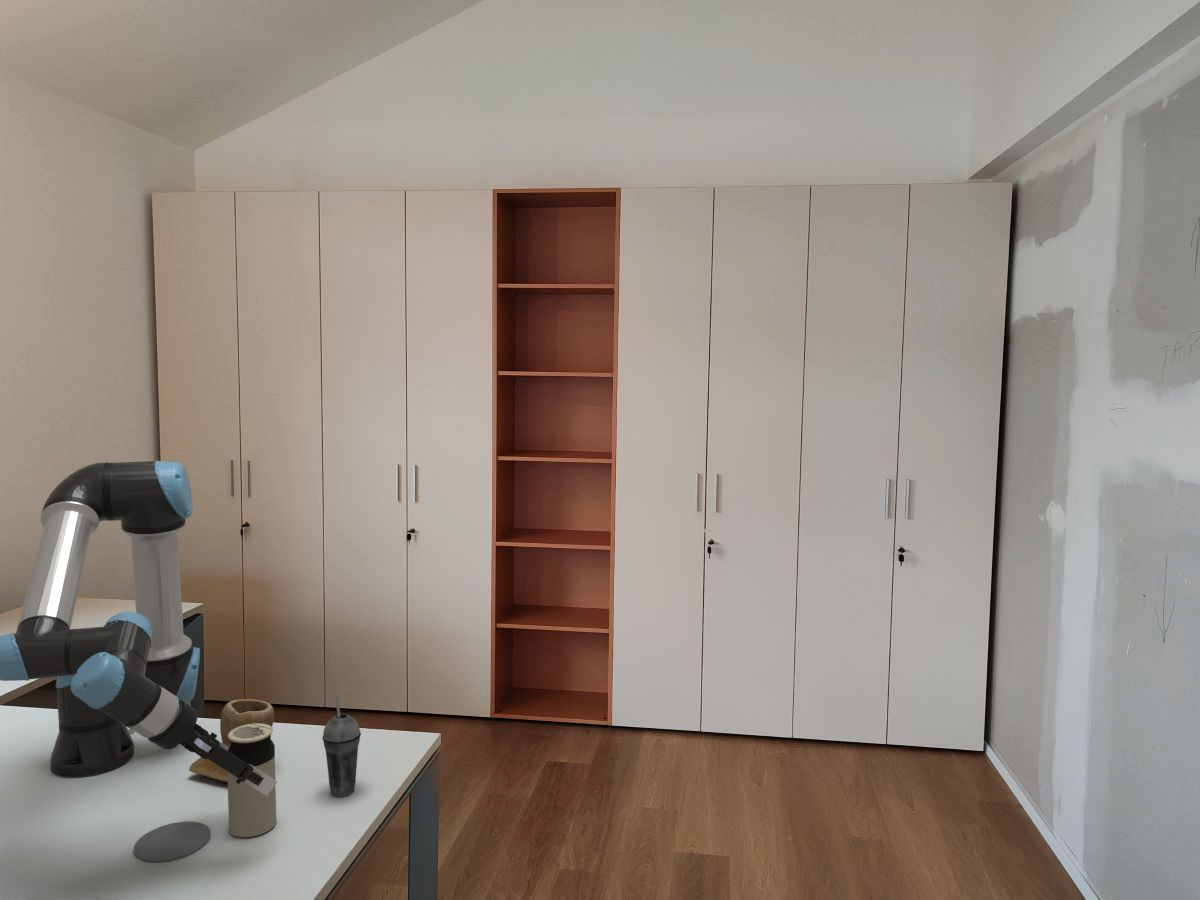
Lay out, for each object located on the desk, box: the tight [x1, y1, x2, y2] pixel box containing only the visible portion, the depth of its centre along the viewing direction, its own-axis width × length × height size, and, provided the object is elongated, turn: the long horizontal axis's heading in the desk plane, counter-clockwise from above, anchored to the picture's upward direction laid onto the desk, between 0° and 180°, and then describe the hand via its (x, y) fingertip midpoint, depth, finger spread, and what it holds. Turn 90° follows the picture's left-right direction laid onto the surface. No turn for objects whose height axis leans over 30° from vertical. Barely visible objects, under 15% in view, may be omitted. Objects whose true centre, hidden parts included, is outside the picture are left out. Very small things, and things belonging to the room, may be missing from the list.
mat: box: [133, 821, 212, 863], centre depth 147 cm, size 12×12×1 cm
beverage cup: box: [321, 695, 362, 798], centre depth 164 cm, size 7×7×20 cm
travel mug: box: [227, 723, 277, 838], centre depth 151 cm, size 8×8×18 cm
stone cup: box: [188, 698, 275, 783], centre depth 171 cm, size 15×12×15 cm
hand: (254, 775), depth 151 cm, fingers open, 13 cm apart
